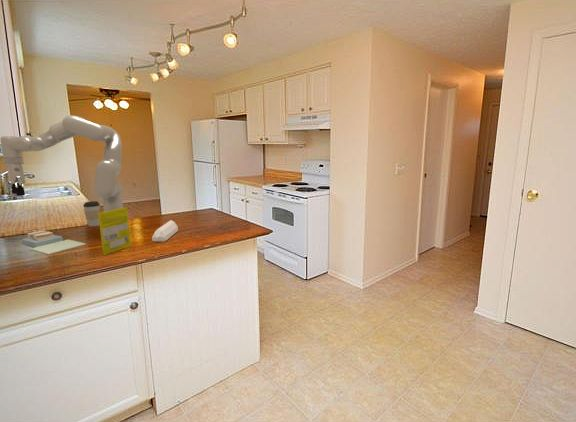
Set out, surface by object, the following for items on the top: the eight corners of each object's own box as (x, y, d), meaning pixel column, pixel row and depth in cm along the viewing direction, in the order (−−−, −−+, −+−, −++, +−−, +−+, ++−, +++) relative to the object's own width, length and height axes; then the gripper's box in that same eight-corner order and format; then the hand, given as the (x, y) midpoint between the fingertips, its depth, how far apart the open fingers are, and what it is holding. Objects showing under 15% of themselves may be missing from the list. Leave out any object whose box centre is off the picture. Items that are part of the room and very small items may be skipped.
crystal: (167, 235, 160) (182, 224, 183) (155, 229, 159) (171, 218, 182) (161, 247, 161) (176, 234, 184) (149, 241, 160) (165, 228, 183)
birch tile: (54, 237, 160) (53, 232, 160) (38, 240, 154) (37, 236, 154) (43, 234, 165) (43, 230, 164) (28, 238, 159) (27, 233, 158)
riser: (63, 241, 162) (62, 236, 161) (36, 247, 151) (35, 243, 151) (48, 237, 168) (48, 233, 167) (22, 243, 158) (21, 239, 157)
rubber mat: (86, 244, 157) (86, 243, 157) (48, 254, 142) (48, 253, 142) (68, 240, 164) (68, 239, 164) (30, 249, 149) (30, 248, 149)
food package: (130, 245, 155) (126, 206, 151) (131, 245, 155) (127, 207, 151) (102, 255, 141) (97, 212, 137) (104, 255, 141) (98, 213, 137)
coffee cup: (85, 227, 190) (82, 203, 187) (85, 224, 198) (82, 201, 195) (102, 225, 195) (99, 202, 192) (102, 222, 203) (99, 199, 199)
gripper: (27, 161, 154) (31, 195, 157) (19, 160, 164) (23, 192, 168) (7, 162, 148) (12, 197, 151) (0, 160, 159) (5, 193, 162)
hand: (18, 194), depth 160 cm, fingers open, 9 cm apart
